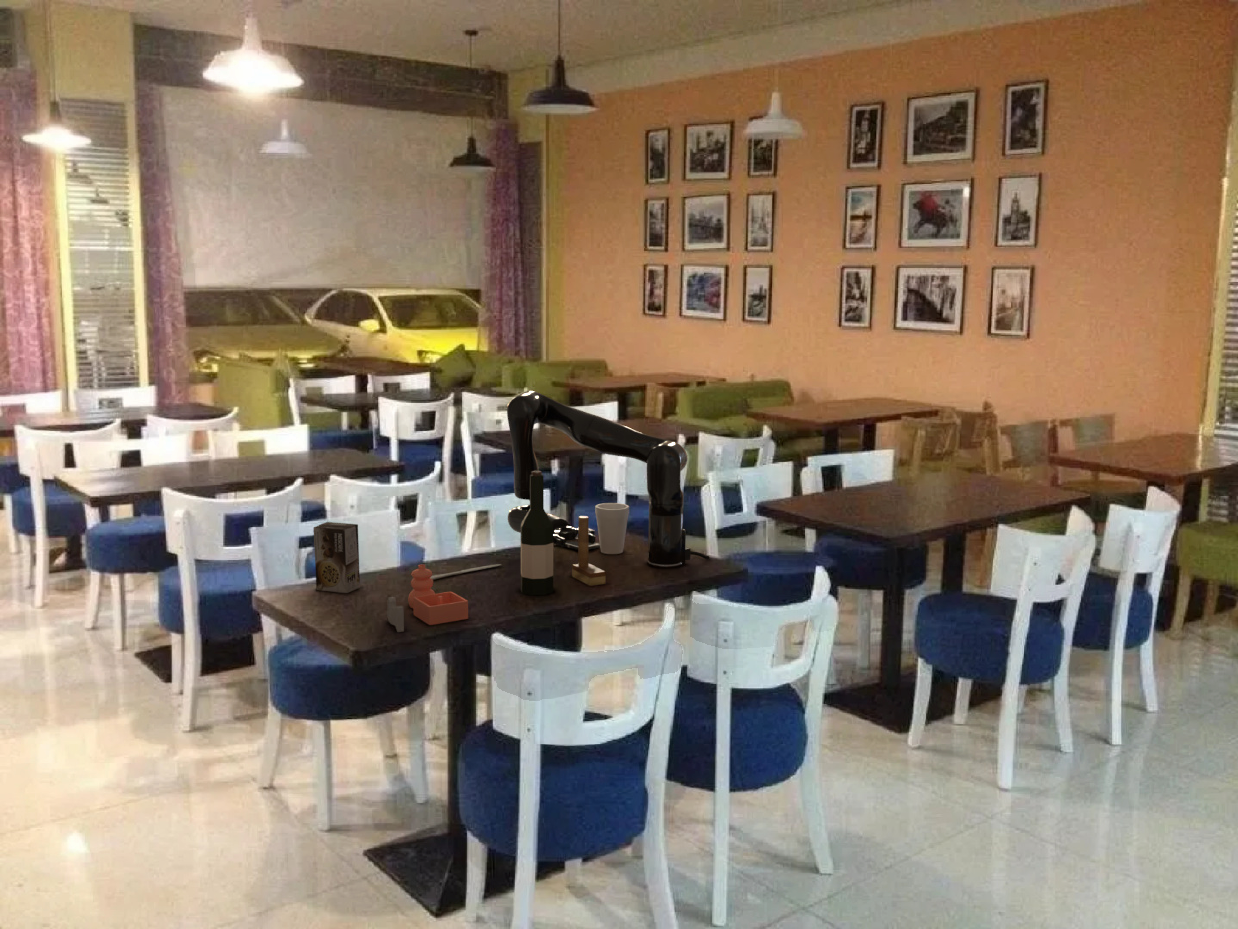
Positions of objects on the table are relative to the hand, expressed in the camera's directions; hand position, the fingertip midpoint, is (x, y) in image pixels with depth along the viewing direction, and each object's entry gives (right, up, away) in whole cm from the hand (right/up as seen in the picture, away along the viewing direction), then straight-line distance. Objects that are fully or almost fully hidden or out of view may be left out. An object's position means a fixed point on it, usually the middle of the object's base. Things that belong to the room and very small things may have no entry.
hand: (579, 541), depth 300 cm
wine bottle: (-10, -12, -13) cm, 20 cm away
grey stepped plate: (-40, -16, -42) cm, 60 cm away
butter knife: (-30, -8, +2) cm, 32 cm away
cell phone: (-2, -3, +34) cm, 34 cm away
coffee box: (-59, -11, -14) cm, 62 cm away
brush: (+3, -10, -3) cm, 10 cm away
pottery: (-33, -14, -32) cm, 48 cm away
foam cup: (+8, -5, +27) cm, 29 cm away
